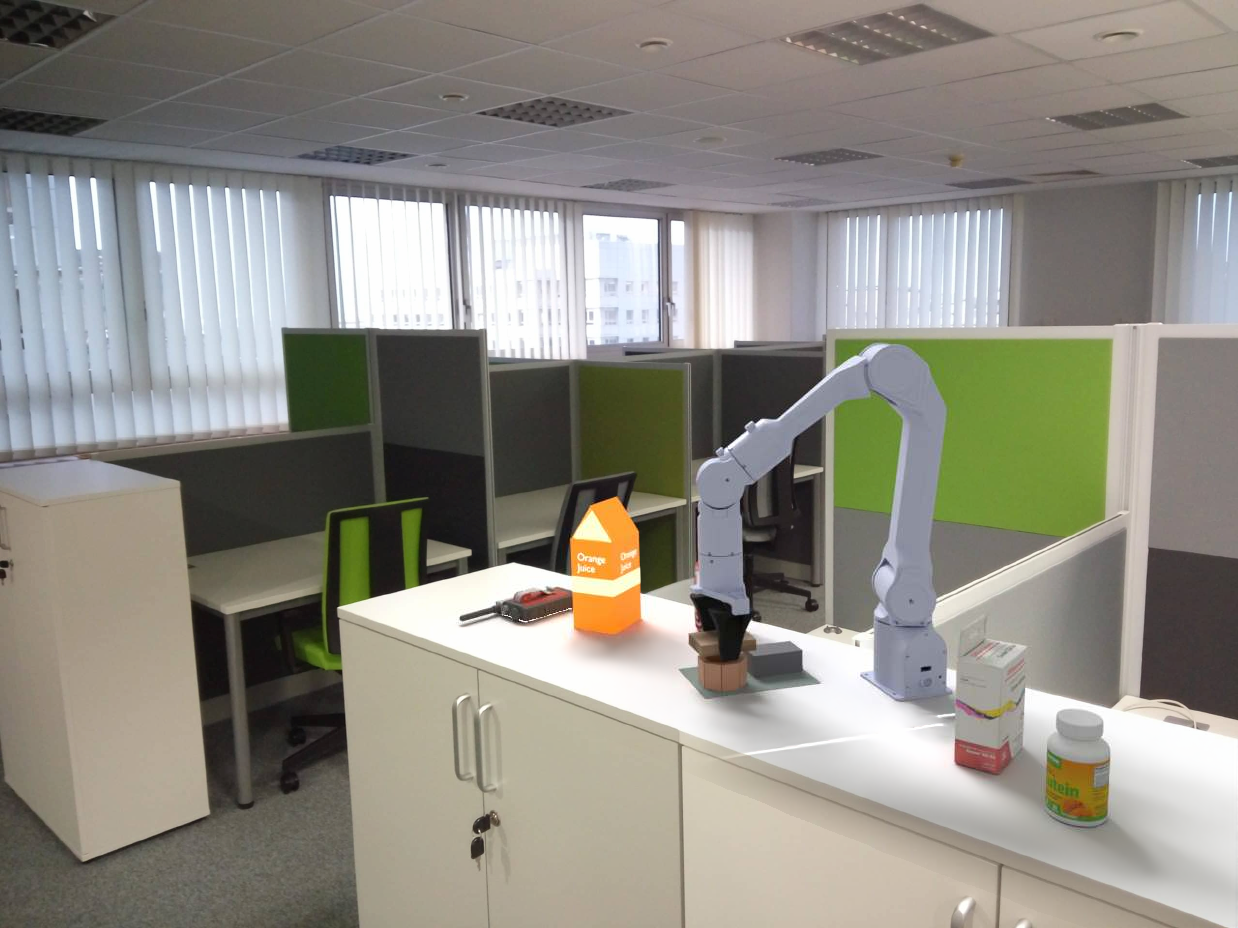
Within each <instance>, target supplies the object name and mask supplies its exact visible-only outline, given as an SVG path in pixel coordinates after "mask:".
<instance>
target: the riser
mask: <svg viewBox="0 0 1238 928" xmlns="http://www.w3.org/2000/svg"><path fill="white" fill-rule="evenodd" d="M803 650H804V649H801V648H800V647H799V646H797V645H796V644H794V642H792V641H791V640H788V641H779V642H771V643H769V642H768V643H762V644H756V650H755V651H747V652H742V653H743V654H744V655H745V656H746V657H747V672H748V673H749V674H751V675H752V676H753V677H754V678H757V677H765V676H773V675H780V674H788V673H795V672H803V669H804V668H803V667H804V666H803V665H804V663H803Z"/></svg>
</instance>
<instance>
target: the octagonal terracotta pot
mask: <svg viewBox="0 0 1238 928" xmlns="http://www.w3.org/2000/svg"><path fill="white" fill-rule="evenodd" d="M697 667H698V682H699V683H700V684H701V685H702V686H703V688H705V689H710V690H716V691H730V690H737V689H741V688H742V687H743V686H744V685H745V684H746V683H747V657H746V656H745V655H744V654H743V652H740V655H739V659H738V660H732V661H723V660H722V658H721V655H715V656H707V657H701V656H700V655H699V654H698V655H697Z"/></svg>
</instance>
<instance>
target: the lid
mask: <svg viewBox="0 0 1238 928" xmlns="http://www.w3.org/2000/svg"><path fill="white" fill-rule="evenodd" d="M688 645H689V646H690V647H691V649H693V650H694V651H695V652H696V653H697V654H698V656H699V655H700V656H701V657H707V656H715V655H720V650H719V643H718V636H717V631H716V630H712V631H704V632H701V631H698V632H696V631H695V632H689V633H688ZM756 645H757V638H756V637H754V636H753V635H752V634H751V633H749V632H748V631H747V630H746V632H745V635H744V638H743V643H742V647H741V651H740V652H742V653H743V652H747V651H755V650H756Z"/></svg>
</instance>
